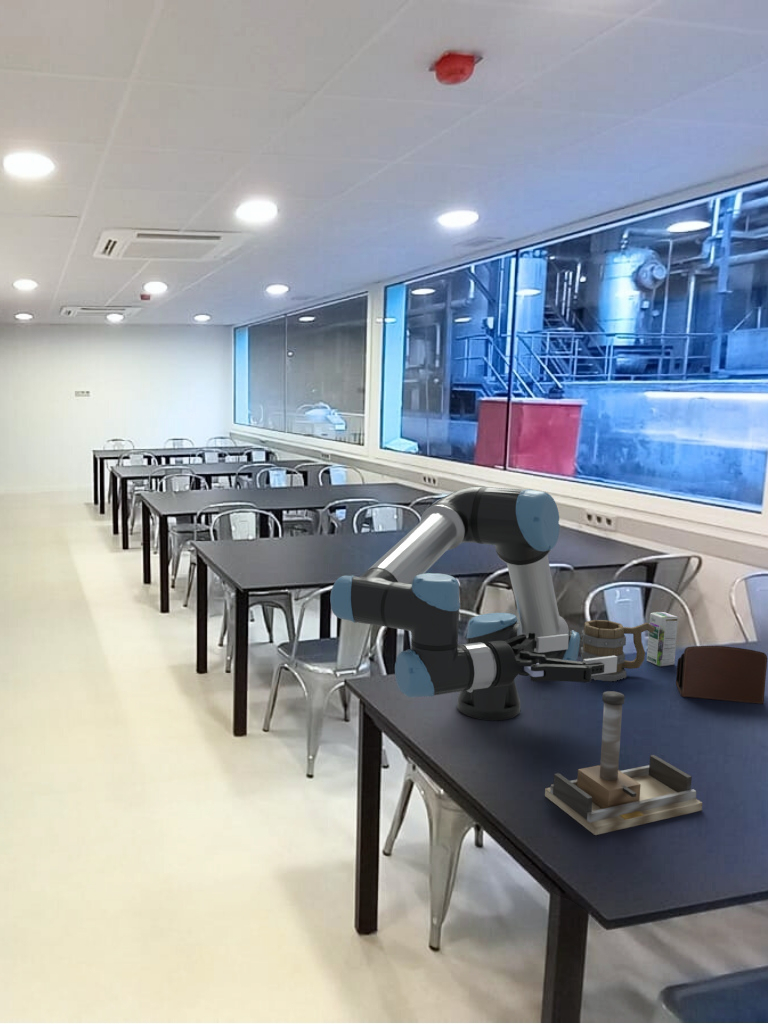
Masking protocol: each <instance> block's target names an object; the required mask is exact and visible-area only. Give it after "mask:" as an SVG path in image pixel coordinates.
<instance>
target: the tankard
mask: <svg viewBox="0 0 768 1024" xmlns="http://www.w3.org/2000/svg"><path fill="white" fill-rule="evenodd" d="M654 630H655V627H653V626H652V625H650V623H648V622H644V623H641V624H639V625H636V626H633V627H631V626H630V627H629V626H628V627H627V626H624V625H623V624H622V623H620V622H615V621H611V620H605V619H603V620H602V619H592V620H588V621H584V626H583V629H582V630H581V635H580V639H581V641H582V646H580V651H579V652H580V656H581V660H582V661H581V662H583V659H590V658H598V657H606V656H614V655H615V656H617V670H616V672H614V673H607V674H599V675H592V676H591V680H592V679H594V680H593V681H596V680H602V681H601V682H612V681H614V682H617V680H618V681H620V679H621V680H624V679H626V678H627V675H628V674H627V671H626V669H629V670H630V669H640V667H641V666H642V665H643V663H644V661H645V655H646V651H645V648H644V646H643V639H642V633H644V632H646V631H648V633H649V632H651V633H653V631H654ZM625 634H627V635H632V637H633V645H634V647H635V651H636V656H635V659H634V660H626V654H625V652H624V646H626V643H627V636H626V635H625ZM623 678H624V679H623Z"/></svg>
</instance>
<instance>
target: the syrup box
mask: <svg viewBox="0 0 768 1024" xmlns="http://www.w3.org/2000/svg"><path fill="white" fill-rule="evenodd" d="M678 621H679V616H676V615H673V614H670V613H667V612H666V611H664V612H663V611H655V612H651V613H650V614H649V624H650V625H652V626H653V627H655V630H654V631H653V633H651V632H649V631H648V639H647V654H646V662H649V663H650V664H651V663H652V664H654V665H655V666H658V667H666V666H674V665H675V661H676V660H675V659H676V647H677V636H678V635H677V634H678V623H679V622H678Z"/></svg>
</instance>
